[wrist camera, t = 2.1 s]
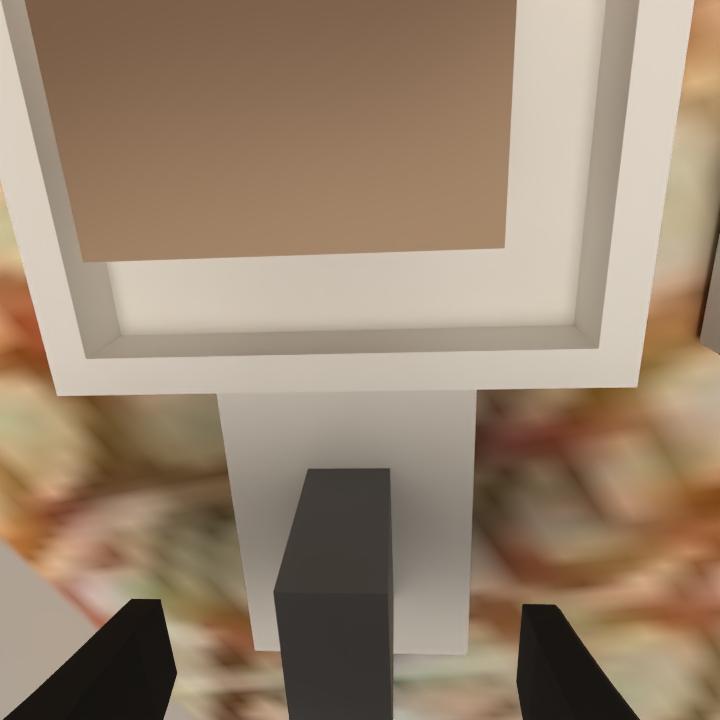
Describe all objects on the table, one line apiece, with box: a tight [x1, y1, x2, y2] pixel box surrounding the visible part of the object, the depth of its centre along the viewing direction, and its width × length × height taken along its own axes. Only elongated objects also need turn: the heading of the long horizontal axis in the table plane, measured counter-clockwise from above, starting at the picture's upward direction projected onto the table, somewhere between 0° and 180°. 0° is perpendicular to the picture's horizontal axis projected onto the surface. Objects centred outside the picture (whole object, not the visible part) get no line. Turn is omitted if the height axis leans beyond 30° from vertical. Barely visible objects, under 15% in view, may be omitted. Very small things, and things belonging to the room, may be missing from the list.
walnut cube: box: [25, 0, 517, 263], centre depth 8 cm, size 5×5×5 cm
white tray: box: [0, 0, 694, 720], centre depth 10 cm, size 20×12×5 cm, turn 3°
